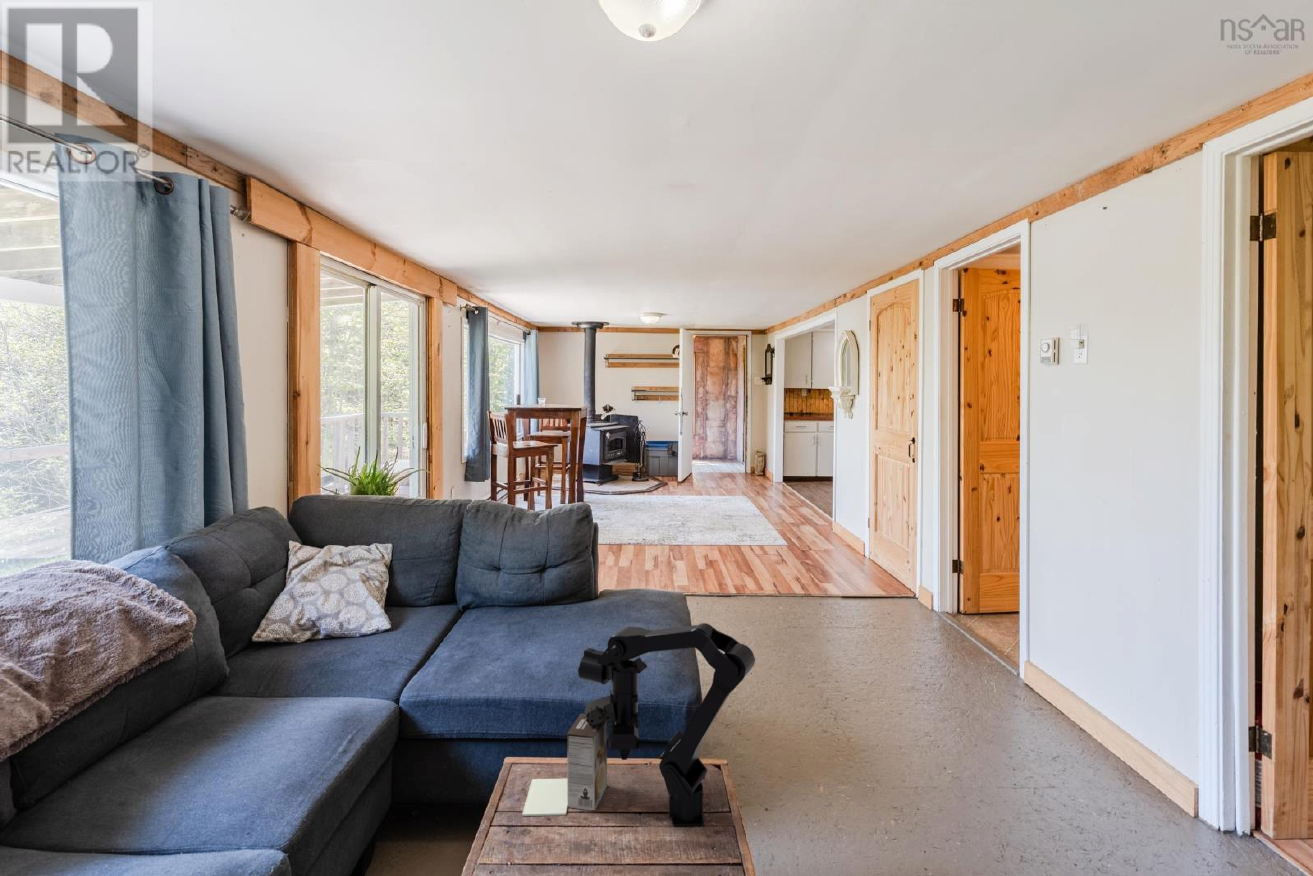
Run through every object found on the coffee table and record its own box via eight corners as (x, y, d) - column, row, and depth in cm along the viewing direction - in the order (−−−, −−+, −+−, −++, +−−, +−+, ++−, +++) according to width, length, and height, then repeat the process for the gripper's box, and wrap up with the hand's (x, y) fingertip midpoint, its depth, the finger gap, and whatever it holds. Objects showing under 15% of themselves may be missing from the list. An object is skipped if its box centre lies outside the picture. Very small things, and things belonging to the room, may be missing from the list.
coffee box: (580, 782, 133) (580, 712, 132) (607, 785, 131) (608, 714, 131) (566, 808, 124) (566, 733, 123) (595, 812, 122) (595, 736, 122)
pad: (572, 780, 133) (572, 778, 133) (565, 815, 121) (565, 813, 121) (532, 781, 133) (532, 779, 133) (522, 816, 121) (522, 814, 121)
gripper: (590, 670, 136) (590, 736, 137) (583, 709, 118) (583, 786, 118) (638, 670, 137) (638, 736, 137) (639, 708, 118) (638, 785, 118)
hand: (624, 759), depth 128 cm, fingers closed
